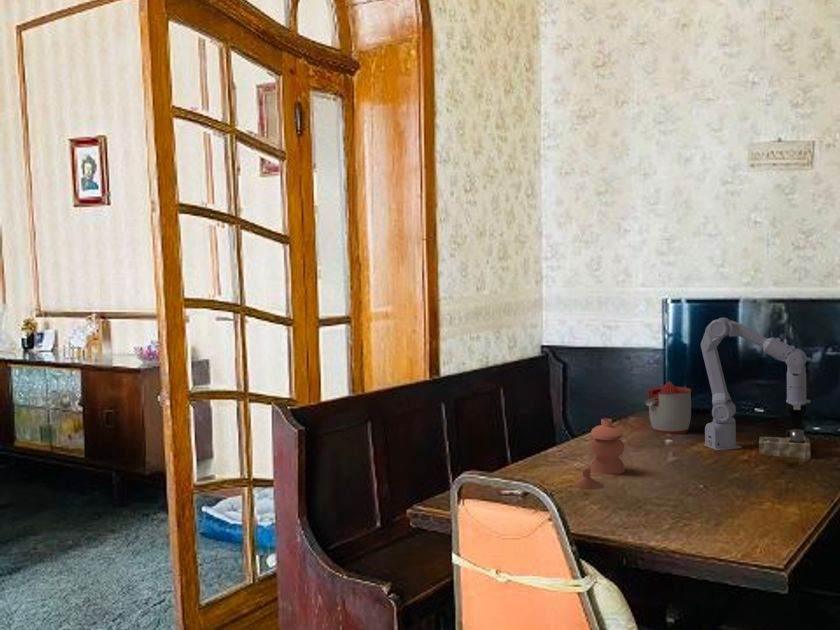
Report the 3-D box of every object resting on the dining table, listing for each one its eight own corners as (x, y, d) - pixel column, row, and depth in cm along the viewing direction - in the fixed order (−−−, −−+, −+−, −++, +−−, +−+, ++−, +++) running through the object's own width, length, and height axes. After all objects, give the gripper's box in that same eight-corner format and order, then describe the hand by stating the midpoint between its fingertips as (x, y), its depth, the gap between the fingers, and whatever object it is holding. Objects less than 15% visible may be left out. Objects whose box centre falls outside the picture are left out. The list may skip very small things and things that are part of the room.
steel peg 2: (790, 446, 254) (790, 431, 253) (790, 443, 257) (790, 429, 257) (804, 447, 252) (803, 432, 252) (803, 444, 255) (803, 429, 255)
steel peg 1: (765, 455, 257) (765, 441, 257) (765, 452, 261) (765, 438, 260) (778, 456, 255) (778, 441, 255) (778, 453, 259) (778, 439, 259)
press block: (759, 457, 255) (759, 442, 255) (759, 451, 264) (759, 436, 263) (810, 460, 249) (810, 445, 249) (809, 454, 257) (809, 439, 257)
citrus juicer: (636, 432, 299) (635, 380, 297) (675, 428, 304) (674, 377, 303) (660, 440, 284) (659, 386, 283) (701, 436, 289) (700, 382, 288)
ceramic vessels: (613, 515, 203) (612, 444, 202) (537, 505, 214) (536, 437, 213) (647, 481, 233) (646, 419, 232) (579, 473, 244) (578, 414, 243)
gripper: (811, 390, 245) (811, 433, 246) (809, 383, 258) (809, 424, 259) (786, 389, 248) (786, 432, 249) (785, 383, 261) (786, 423, 262)
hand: (796, 427), depth 254 cm, fingers closed
